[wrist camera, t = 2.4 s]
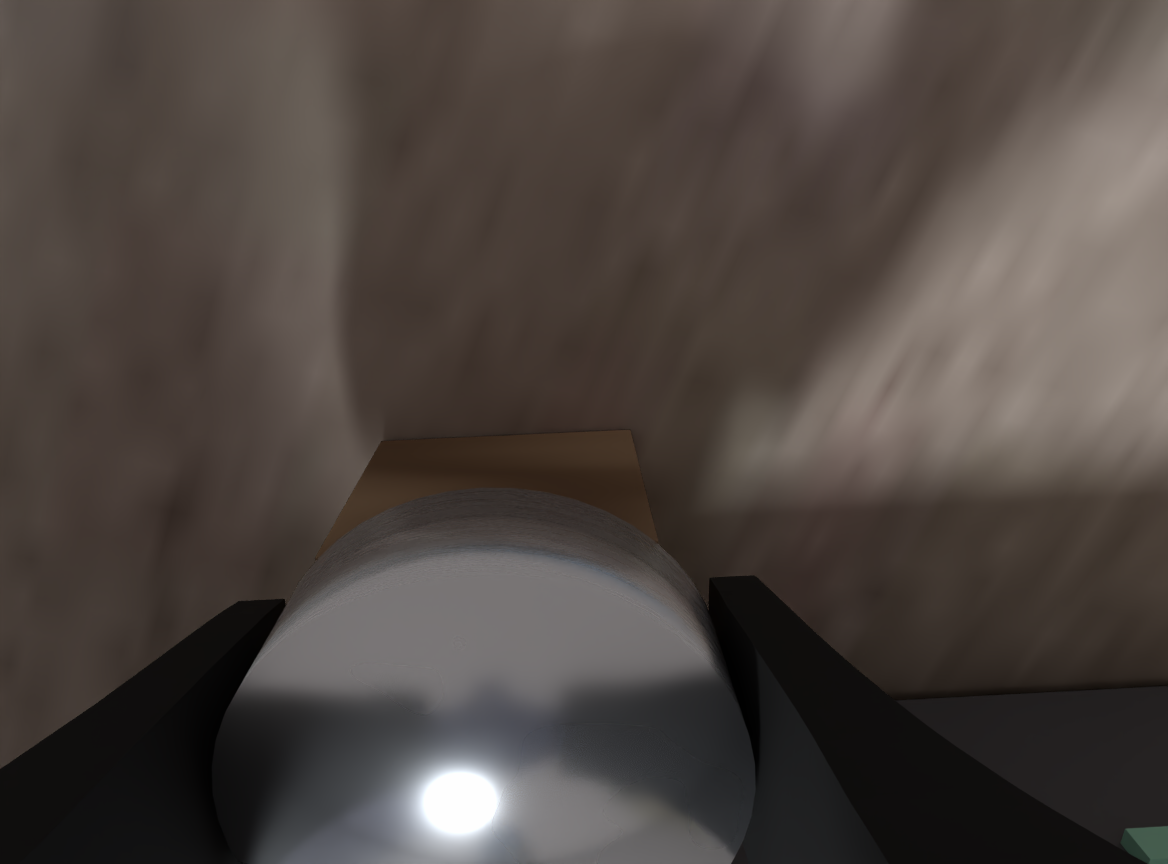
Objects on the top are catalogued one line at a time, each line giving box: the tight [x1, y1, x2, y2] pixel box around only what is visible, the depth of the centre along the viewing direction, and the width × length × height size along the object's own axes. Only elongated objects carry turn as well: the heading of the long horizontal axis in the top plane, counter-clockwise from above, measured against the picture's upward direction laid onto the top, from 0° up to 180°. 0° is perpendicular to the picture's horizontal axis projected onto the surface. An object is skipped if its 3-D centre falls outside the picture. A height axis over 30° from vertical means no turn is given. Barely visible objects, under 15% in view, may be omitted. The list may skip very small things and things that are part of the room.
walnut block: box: [315, 430, 658, 560], centre depth 11 cm, size 4×4×4 cm
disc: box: [212, 488, 756, 864], centre depth 9 cm, size 6×6×2 cm
